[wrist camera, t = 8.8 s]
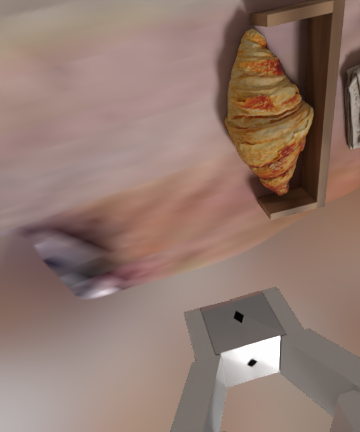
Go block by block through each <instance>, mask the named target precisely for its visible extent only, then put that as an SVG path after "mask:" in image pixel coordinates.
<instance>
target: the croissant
mask: <svg viewBox="0 0 360 432" xmlns="http://www.w3.org/2000/svg"><path fill="white" fill-rule="evenodd" d="M266 48H267V44H266V40H265V37H264V36H263V35H261V34H260V33H259V32H258V31H257V30H256V29H253V28H252V29H250V30H247V31H246V33H245V34H244V36H243V37H242V39H241V44H240V46H239V48H238V53H237V57H236V60H235V63H234V65H233V67H232V71H231V79H230V82H229V88H228V94H227V97H228V115H227V116H226V117H225V126H226V128H227V130H228V132H229V135H230V137H231V139H232V141H233V143H234V145H235V147H236V149H237V152H238V154H239V156H240V157H241V158H242V160H243V161H244V162H245V163H246V164H247V165H248V166H249V167H250V169H251V170H252V171H253V172H254V173H255V174H256V175H258V176H259V178H260V181H261V183H262V184H263V185H264V186H265V187H267V188H269V189H270V190H271V191H272V192H274V193H275V194H276V195H277V196H281V195H283V194H285V193H287V191H288V190H289V184H288V181H289V180H290V178H291V177H292V175H293V173H294V169H295V167H296V162H297V159H298V157H299V153H300V151H303V150H304V146H305V142H306V135H307V133H308V131H309V128H310V126H311V124H312V120H313V115H314V112H313V108H312V107H311V106H310V105H308V104H307V103H306V102H305V101H303V100H302V97H301V95H300V93H299V90H298V87H297V86H296V85H295V84H292V83H291V82H290V80H289V79H288V78H287V77H286V75H285V74H284V72H283V70H282V67H281V64H280V61H279V59H278V58H277V57H276V56H275V55H273V54H272V52H271V50H268V49H266Z"/></svg>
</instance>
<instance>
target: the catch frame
mask: <svg viewBox="0 0 360 432" xmlns="http://www.w3.org/2000/svg"><path fill="white" fill-rule="evenodd" d="M344 7H345V0H311V1H306V2H302V3H297V4H293V5H288V6H284V7H279V8H274V9H270V10H265V11H261V12H256V13H252V14H250V15H251V25H258V26H264V27H270V26H274V25H279V24H283V23H288V22H292V21H297V20H301V19H306V18H309V30H308V51H307V73H306V94H305V102H306V103H307V104H308V105H310V106H311V107H312V108H313V112H314V115H313V120H312V124H311V126H310V128H309V131H308V133H307V135H306V142H305V146H304V150H303V157H302V178H301V187H299V188H295V189H291V190H288V191H287V193H285V194H283V195H281V196H277V195H276V194H271V195H268V196H264V197H260V198H258V204H259V205H260V206H261V208H262V209H263V210H264V212H265V213H266V214H267V216H268V217H269V218H270V220H273V219H277V218H280V217H284V216H288V215H292V214H296V213H300V212H304V211H308V210H312V209H316V208H320V207H323V206H325V197H326V187H327V177H328V167H329V157H330V147H331V137H332V127H333V117H334V107H335V97H336V87H337V77H338V67H339V57H340V47H341V37H342V27H343V17H344Z"/></svg>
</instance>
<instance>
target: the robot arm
mask: <svg viewBox="0 0 360 432" xmlns="http://www.w3.org/2000/svg"><path fill="white" fill-rule="evenodd" d="M184 316H185V321H186V325H187V329H188V333H189V337H190V342H191V346H192V350H193V354H194V357H195V361H196V362H193V363H192V365H191V368H190V371H189V374H188V377H187V380H186V383H185V387H184V389H183V393H182V396H181V399H180V402H179V405H178V408H177V412H176V415H175V418H174V421H173V424H172V427H171V430H170V432H219V430H220V425H221V419H222V414H223V408H224V403H225V397H226V392H227V388H228V387H231V386H234V385H237V384H240V383H243V382H246V381H249V380H252V379H256V378H260V377H263V376H266V375H271V374H274V373H278V372H280V374H281V375H283V376H284V377H285V378H286V379H287V380H289V381H290V382H291V383H292V384H293V385H295V386H296V387H297V388H298V389H300V390H301V391H302V392H303V393H304V394H306V395H307V396H308V397H309V398H311V399H312V400H313V401H314V402H315V403H317V404H318V405H319V406H320V407H321V408H323V409H324V410H325V411H326V412H328V413H329V414H330V415H331V416H332V417H333V421H332V424H331V428H330V432H360V357H358V356H356V355H355V354H353V353H351V352H349V351H348V350H346V349H344V348H343V347H341V346H339V345H337V344H335V343H334V342H332V341H330V340H329V339H327V338H325V337H323V336H322V335H320V334H318V333H316V332H315V331H313V330H311V329H304V328H303V327H302V326H301V324H300V322H299V321H298V319H297V317H296V316H295V314H294V312H293V311H292V309H291V308H290V306H289V305H288V303H287V301H286V300H285V298H284V297H283V295H282V294H281V292H280V290H279V289H278V288H277V287H272V288H269V289H266V290H262V291H257V292H254V293H250V294H247V295H244V296H240V297H237V298H234V299H231V300H229V301H225V302H221V303H217V304H214V305H209V306H206V307H201V308H200V309H199V308H198V309H194V310H190V311H187V312H184ZM222 432H226V431H222Z"/></svg>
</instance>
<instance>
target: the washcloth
mask: <svg viewBox="0 0 360 432" xmlns="http://www.w3.org/2000/svg"><path fill="white" fill-rule="evenodd" d="M346 73H347V77H348V80H347V82H346V86H345V107H346V115H347V138H348V147H349V149H354V148H360V64H359V65H357V66H355V67H351V68H349V69H348V70H346Z"/></svg>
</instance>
